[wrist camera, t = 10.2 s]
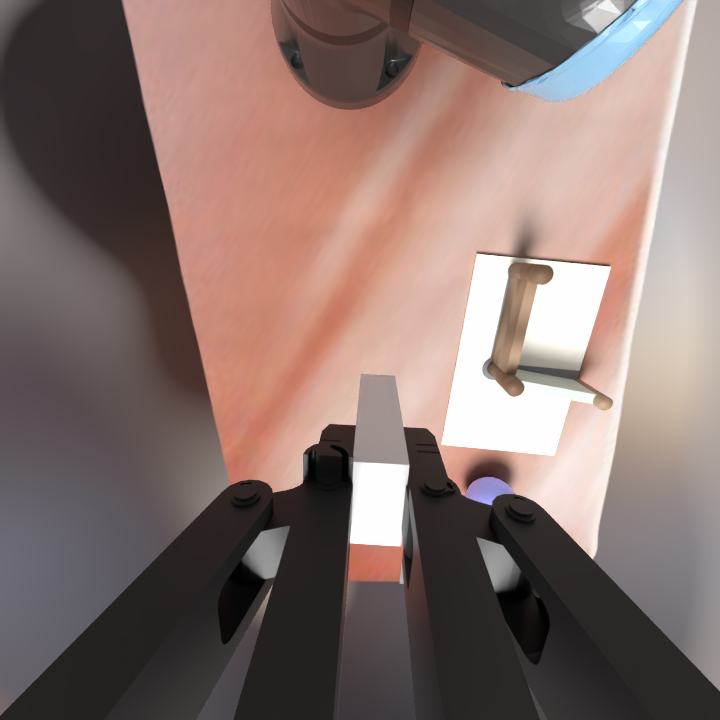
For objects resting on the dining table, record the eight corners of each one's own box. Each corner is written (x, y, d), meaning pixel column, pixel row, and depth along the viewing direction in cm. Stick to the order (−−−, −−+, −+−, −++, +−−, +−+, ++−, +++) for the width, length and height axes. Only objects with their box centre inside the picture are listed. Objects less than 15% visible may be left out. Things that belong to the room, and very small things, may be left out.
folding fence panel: (502, 377, 45) (521, 395, 40) (506, 365, 45) (526, 382, 39) (579, 391, 46) (609, 411, 40) (584, 380, 45) (614, 399, 40)
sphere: (449, 486, 52) (461, 520, 45) (487, 458, 50) (504, 489, 44) (479, 514, 53) (495, 551, 47) (517, 487, 52) (538, 523, 45)
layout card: (476, 253, 42) (477, 253, 41) (608, 266, 42) (611, 266, 41) (441, 443, 50) (441, 444, 49) (552, 454, 50) (554, 455, 49)
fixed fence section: (509, 261, 42) (536, 263, 35) (526, 263, 42) (555, 265, 35) (485, 374, 46) (504, 395, 39) (500, 376, 46) (522, 397, 39)
